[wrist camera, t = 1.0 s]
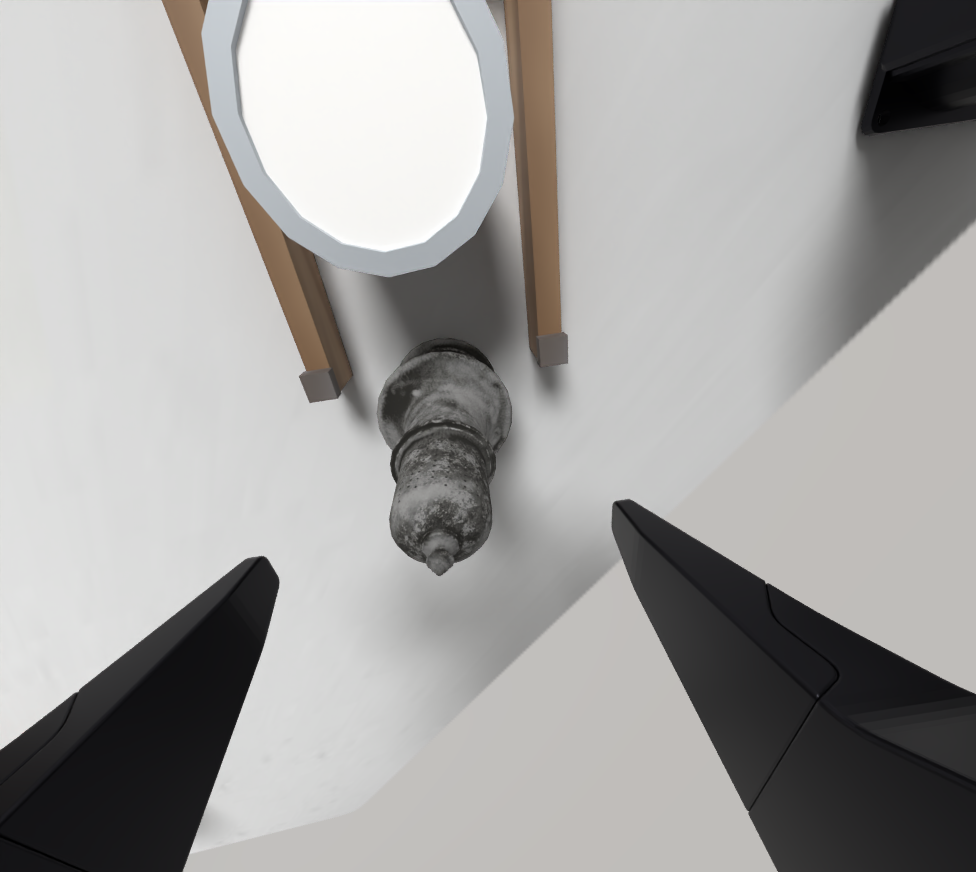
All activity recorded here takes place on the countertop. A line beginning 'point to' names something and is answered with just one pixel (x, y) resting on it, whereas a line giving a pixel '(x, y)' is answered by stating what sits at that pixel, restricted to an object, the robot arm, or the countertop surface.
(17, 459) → the countertop surface
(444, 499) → the salt shaker
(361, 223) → the white tapered cup
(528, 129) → the wooden stand
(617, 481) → the countertop surface
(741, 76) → the countertop surface
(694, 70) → the countertop surface
